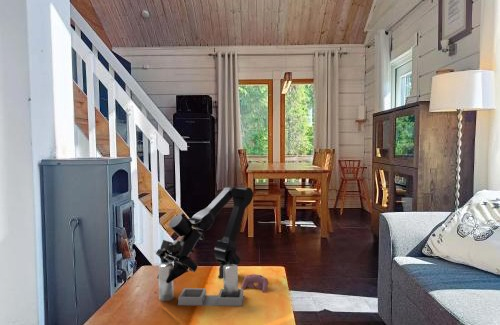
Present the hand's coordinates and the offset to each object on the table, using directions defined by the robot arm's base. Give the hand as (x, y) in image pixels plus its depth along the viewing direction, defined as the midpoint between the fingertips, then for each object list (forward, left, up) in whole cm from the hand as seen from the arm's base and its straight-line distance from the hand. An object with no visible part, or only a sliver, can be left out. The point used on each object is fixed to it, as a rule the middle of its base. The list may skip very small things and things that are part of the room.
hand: (162, 280), depth 126 cm
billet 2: (-18, +16, -7) cm, 25 cm away
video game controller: (-31, +12, -8) cm, 35 cm away
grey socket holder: (-13, +12, -8) cm, 19 cm away
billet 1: (-1, 0, -7) cm, 7 cm away
